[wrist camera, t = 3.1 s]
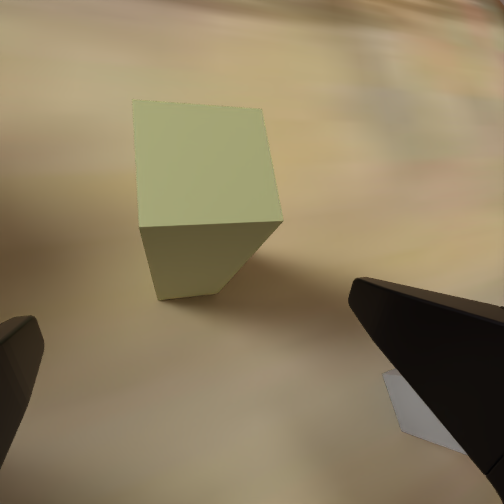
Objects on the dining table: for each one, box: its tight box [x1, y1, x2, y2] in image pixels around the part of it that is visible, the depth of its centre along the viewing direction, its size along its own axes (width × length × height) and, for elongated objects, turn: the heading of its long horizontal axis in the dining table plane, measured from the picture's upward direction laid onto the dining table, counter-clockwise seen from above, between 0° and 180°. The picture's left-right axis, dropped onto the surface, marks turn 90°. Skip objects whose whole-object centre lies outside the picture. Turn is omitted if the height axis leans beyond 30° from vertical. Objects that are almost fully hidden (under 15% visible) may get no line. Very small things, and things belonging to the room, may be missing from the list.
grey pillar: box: [382, 368, 467, 455], centre depth 16 cm, size 4×4×13 cm
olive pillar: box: [132, 99, 284, 300], centre depth 15 cm, size 4×4×13 cm
